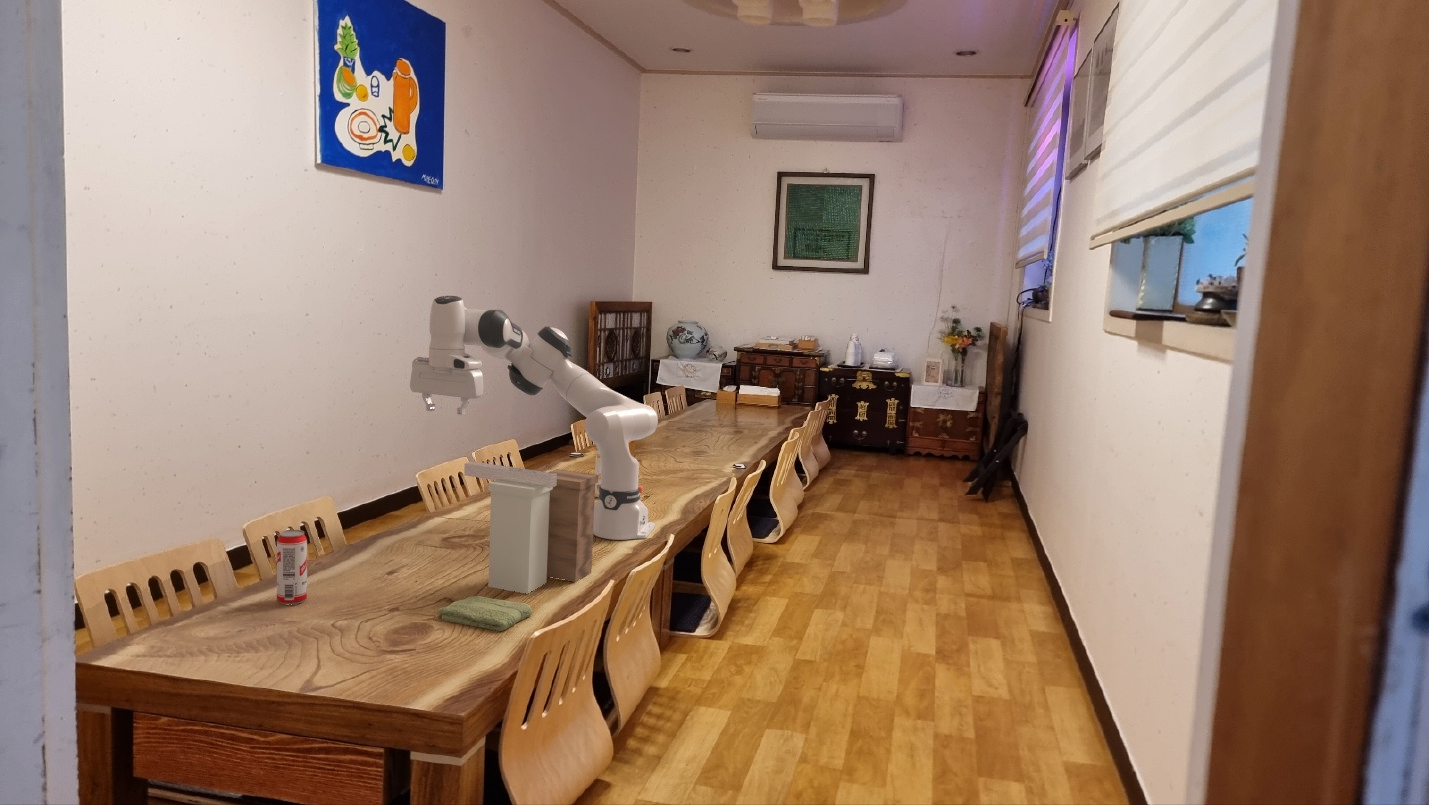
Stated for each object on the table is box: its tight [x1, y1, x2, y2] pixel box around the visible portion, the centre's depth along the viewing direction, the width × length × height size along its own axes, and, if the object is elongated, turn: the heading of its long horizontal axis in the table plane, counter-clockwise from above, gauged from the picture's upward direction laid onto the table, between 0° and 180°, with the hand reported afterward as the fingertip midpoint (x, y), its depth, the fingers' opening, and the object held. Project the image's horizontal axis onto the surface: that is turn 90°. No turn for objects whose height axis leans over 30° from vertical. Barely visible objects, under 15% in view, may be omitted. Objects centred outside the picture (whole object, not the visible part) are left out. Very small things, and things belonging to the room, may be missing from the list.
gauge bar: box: [463, 461, 557, 488], centre depth 233 cm, size 3×24×3 cm, turn 70°
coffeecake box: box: [594, 445, 601, 498], centre depth 335 cm, size 15×7×20 cm, turn 179°
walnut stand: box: [547, 468, 598, 583], centre depth 245 cm, size 10×12×26 cm
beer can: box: [276, 529, 308, 606], centre depth 215 cm, size 6×6×16 cm
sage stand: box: [487, 480, 553, 595], centre depth 234 cm, size 10×12×26 cm
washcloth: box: [437, 595, 533, 632], centre depth 214 cm, size 13×18×3 cm
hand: (445, 412), depth 248 cm, fingers open, 8 cm apart
